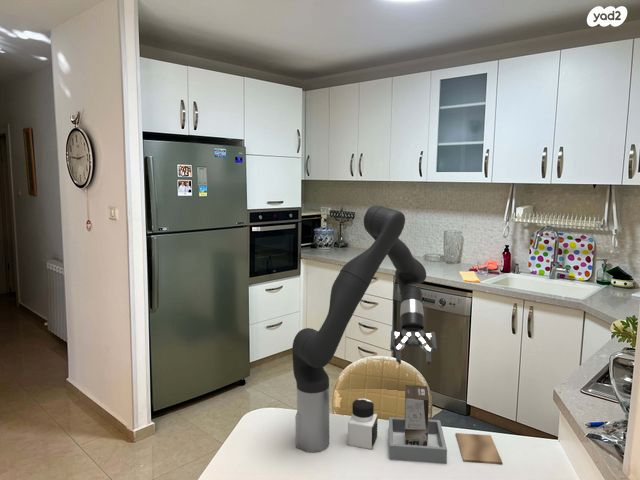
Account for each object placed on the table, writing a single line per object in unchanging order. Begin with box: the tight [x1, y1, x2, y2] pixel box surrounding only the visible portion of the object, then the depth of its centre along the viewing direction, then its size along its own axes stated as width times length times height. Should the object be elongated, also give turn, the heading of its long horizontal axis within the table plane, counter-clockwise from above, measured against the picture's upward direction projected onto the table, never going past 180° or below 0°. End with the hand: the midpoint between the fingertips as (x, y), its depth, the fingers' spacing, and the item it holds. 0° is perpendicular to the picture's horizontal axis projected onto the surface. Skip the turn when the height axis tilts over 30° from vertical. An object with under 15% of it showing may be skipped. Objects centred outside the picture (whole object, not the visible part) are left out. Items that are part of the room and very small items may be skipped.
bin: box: [388, 416, 448, 465], centre depth 128 cm, size 15×15×4 cm
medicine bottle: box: [347, 398, 378, 450], centre depth 130 cm, size 7×7×12 cm
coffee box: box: [404, 384, 430, 446], centre depth 127 cm, size 9×6×16 cm
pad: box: [455, 432, 503, 465], centre depth 127 cm, size 10×13×1 cm
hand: (413, 363), depth 139 cm, fingers open, 8 cm apart
